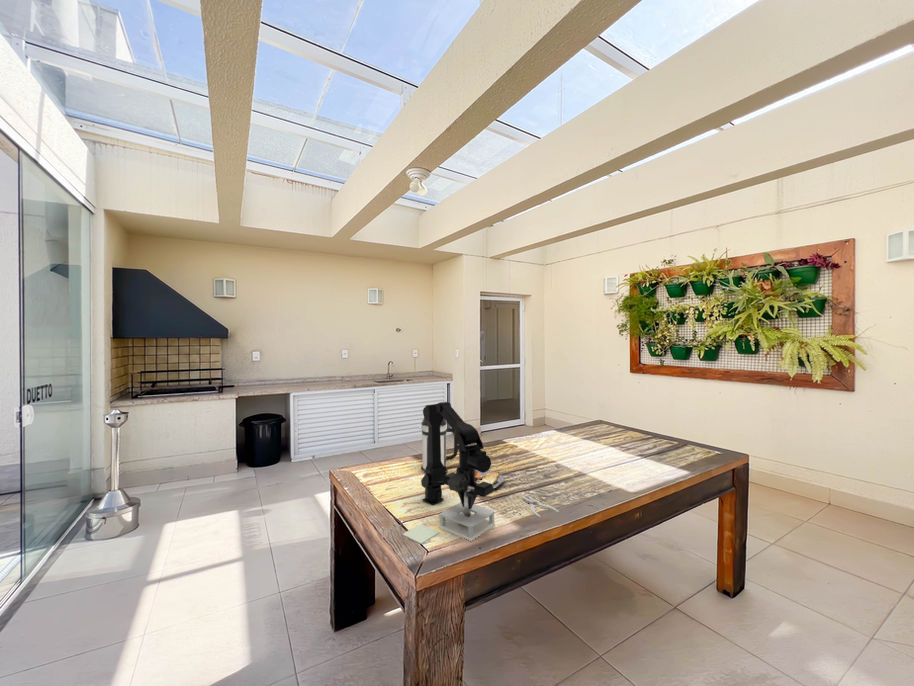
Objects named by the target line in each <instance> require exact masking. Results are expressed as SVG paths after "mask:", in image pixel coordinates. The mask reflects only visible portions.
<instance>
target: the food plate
mask: <svg viewBox="0 0 914 686" xmlns="http://www.w3.org/2000/svg"><path fill="white" fill-rule="evenodd" d="M475 477H477V481H479V482H478V483H481V482H487V483H490V484H492V485H493V489H496V488H497V487H499V486H500V485H501V484H502V483H504V482H505V481H506V478H505V477H504V476H503V475H502V473H501V471H494V470H490V469H489V470H488V471H487V472H485V473H482V472H479V471H477V470H475ZM480 479H482V480H480ZM477 481H475V483H477ZM468 490H470V487H468Z"/></svg>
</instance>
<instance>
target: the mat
mask: <svg viewBox="0 0 914 686" xmlns="http://www.w3.org/2000/svg"><path fill="white" fill-rule="evenodd" d="M440 533H441V532H440V531H438V530H436V529H434V528H432V527H429V526H427V525H424V524H423V523H420V524H418V525H416V526H415V527H412V528H410V529H408V530H407V531H405V532H403V533H402V534H401V535H402V536H403V537H405V538H406V539H410V540H411V541H413V542H415V543H417V544H419V545H423V544H424V543H426V542H428V541H430V540H431V539H432V538H435V537H436V536H437V535H439V534H440Z"/></svg>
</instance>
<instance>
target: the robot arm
mask: <svg viewBox="0 0 914 686" xmlns="http://www.w3.org/2000/svg"><path fill="white" fill-rule="evenodd" d="M422 414H423V419H424V420H425V422H426V423H427V425H428V434H429V463H428V465H427V467H426V469H424V470H425V471H424V476H423V477H422V478H421V479H420V483H421V487H423V488H424V494H425V496H424V497H423V498H422V501H423V502H425V503H428V504H430V505H432V506H433V505H436V504H438V503H440V502H442V501H444V500H445V498H443V489H442V486H445V485H446V486H448V489H449V490H450V491H453V492H455V493H457V494H458V497H459V499H460V502H461V503H462V506H463V507H464V490H470V491H468V492H466V493H467V494H468V500H469V509H472V506H473V504H475V502H476V499H477V498H478V496H479V497H482V498H484V497H486V496H488V495H490V494H493V493H494V488H493V485H492V484H490V483H487V482H481V483H475V481H477V477H475V470H477V471H479V472H482V473H485V472H487V471H488V470H490V469H491V466H492V461H491V457H490V456H488V455H487V451H485V450H483V449H484V444H483V441H482V439H481V437H480V434H479V432H478V430H477V428H475V427H474V426H473V425H472V424H470V423H466V422H465V421H464V420H463V418H462V417H461V416H460V415H459V414H458V413H457V411H456V410H455V409H454V408H453V407H452V404H451V403H450V402H449V401H443V402H442V401H440V402H438V403H434V404H426V405H425V407H423V409H422ZM444 419H445V420H446V422H447V424H448V426H449V428H452V429H453V431H454V434H453V439H454V438H455V439H456V441H457V443H458V446H457V447H456V448H457V449H458V451H459V452H458V453H459V454H458V460H459V461H458V466H457V467H456V469H455V470H456V471H455V472H453V471H452V472H450V473H446V468H447V466H446V467H445V466H444V465H443V464H442V462H441V438H440V426H441V424H442V422H443V420H444ZM468 488H470V489H468Z"/></svg>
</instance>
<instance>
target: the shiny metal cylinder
mask: <svg viewBox="0 0 914 686" xmlns="http://www.w3.org/2000/svg"><path fill="white" fill-rule="evenodd" d="M468 491H470V489H468V490H464V516H467V517H470V516H471V514H472V512H471V509H469V500H468V494H467V493H466V492H468Z"/></svg>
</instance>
